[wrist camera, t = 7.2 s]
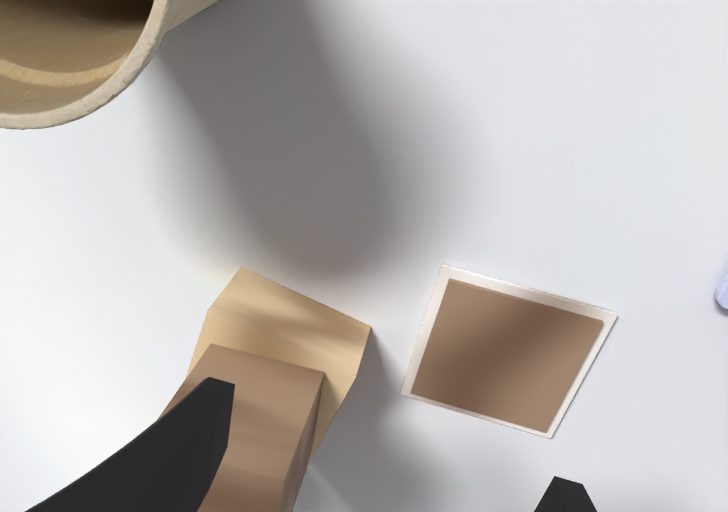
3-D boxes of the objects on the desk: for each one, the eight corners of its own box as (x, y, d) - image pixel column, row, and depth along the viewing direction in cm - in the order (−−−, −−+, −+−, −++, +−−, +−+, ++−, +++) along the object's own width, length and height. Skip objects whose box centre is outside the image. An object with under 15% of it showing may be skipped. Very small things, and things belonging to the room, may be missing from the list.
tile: (616, 312, 21) (619, 318, 21) (549, 435, 25) (551, 442, 24) (442, 264, 22) (441, 269, 21) (400, 391, 25) (399, 397, 25)
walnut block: (311, 454, 23) (272, 568, 19) (208, 427, 24) (146, 533, 19) (324, 371, 21) (284, 479, 17) (210, 343, 21) (141, 442, 17)
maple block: (371, 323, 24) (355, 377, 21) (323, 413, 27) (303, 471, 24) (243, 264, 24) (207, 310, 21) (209, 361, 27) (174, 414, 24)
